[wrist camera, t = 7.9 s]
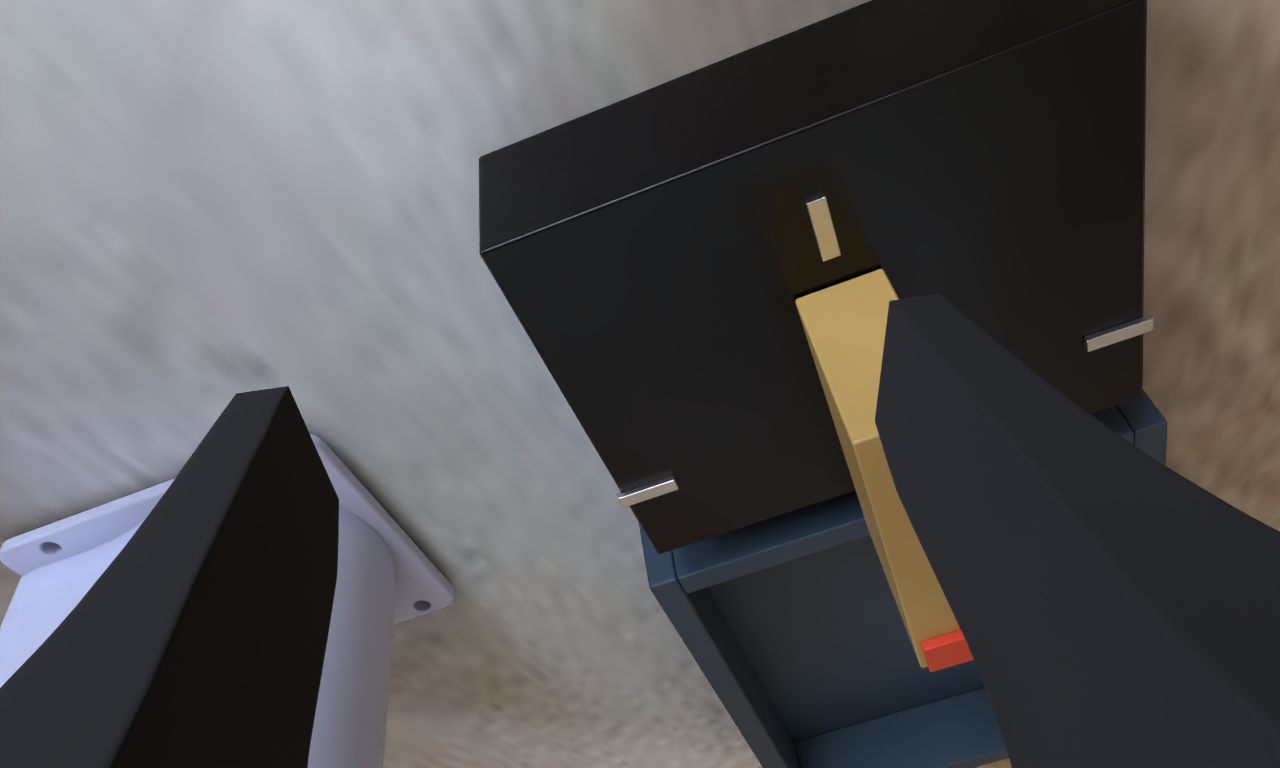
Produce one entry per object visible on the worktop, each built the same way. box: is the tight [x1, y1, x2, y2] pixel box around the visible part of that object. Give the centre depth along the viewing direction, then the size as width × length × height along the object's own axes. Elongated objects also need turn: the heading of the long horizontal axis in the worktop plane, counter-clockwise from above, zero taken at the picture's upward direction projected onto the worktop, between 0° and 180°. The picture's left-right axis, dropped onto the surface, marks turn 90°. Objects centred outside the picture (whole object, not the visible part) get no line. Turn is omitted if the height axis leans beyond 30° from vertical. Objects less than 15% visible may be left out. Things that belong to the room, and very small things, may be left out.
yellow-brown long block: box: [795, 269, 974, 672], centre depth 20 cm, size 8×2×4 cm, turn 20°
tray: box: [639, 389, 1167, 768], centre depth 31 cm, size 14×17×3 cm
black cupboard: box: [479, 0, 1153, 554], centre depth 22 cm, size 14×12×4 cm
